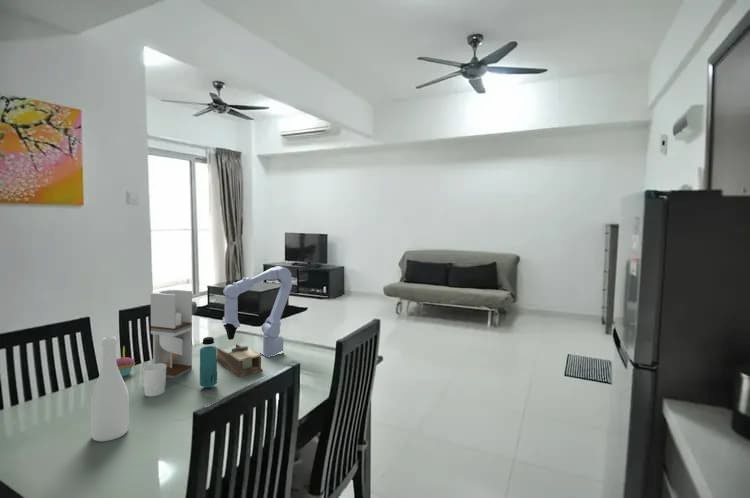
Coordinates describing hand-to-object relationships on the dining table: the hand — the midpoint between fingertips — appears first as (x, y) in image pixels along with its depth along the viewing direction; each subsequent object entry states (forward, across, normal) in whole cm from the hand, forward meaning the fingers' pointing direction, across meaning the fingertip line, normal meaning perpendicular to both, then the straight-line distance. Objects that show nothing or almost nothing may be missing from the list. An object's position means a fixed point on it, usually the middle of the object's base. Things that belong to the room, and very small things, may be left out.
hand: (230, 339), depth 183 cm
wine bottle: (+11, +38, -54) cm, 67 cm away
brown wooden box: (+10, +8, 0) cm, 13 cm away
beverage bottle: (+11, +23, -19) cm, 32 cm away
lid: (+4, +14, 0) cm, 15 cm away
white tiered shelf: (+11, -2, -25) cm, 27 cm away
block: (+10, +14, 0) cm, 17 cm away
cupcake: (+11, -12, -41) cm, 44 cm away
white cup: (+11, +15, -36) cm, 40 cm away
